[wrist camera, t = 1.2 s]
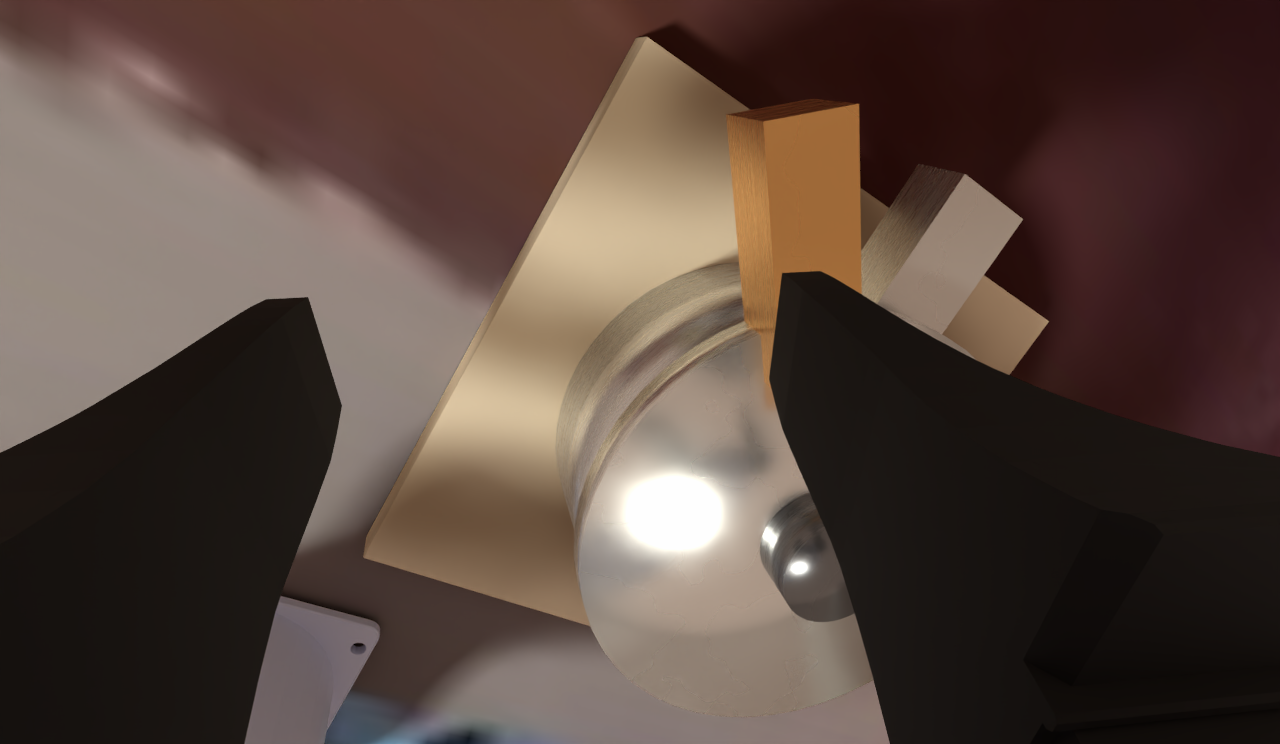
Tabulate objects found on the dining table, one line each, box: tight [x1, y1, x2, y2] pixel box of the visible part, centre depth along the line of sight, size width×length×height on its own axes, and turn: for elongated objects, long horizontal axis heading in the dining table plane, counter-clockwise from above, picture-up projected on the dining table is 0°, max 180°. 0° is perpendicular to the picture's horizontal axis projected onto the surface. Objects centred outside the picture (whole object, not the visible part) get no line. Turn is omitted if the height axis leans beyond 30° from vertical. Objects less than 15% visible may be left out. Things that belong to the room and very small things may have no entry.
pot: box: [556, 164, 1023, 527], centre depth 22 cm, size 16×12×5 cm
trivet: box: [363, 37, 1049, 626], centre depth 26 cm, size 18×18×1 cm
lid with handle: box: [574, 99, 976, 717], centre depth 18 cm, size 17×13×2 cm
